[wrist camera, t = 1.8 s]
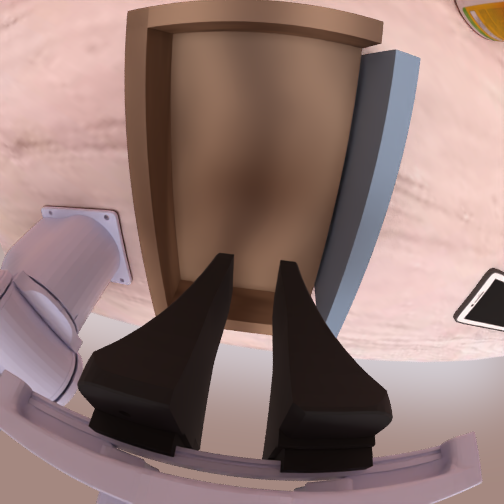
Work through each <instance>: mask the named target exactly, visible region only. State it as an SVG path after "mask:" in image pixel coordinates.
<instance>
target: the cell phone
mask: <svg viewBox="0 0 504 504" xmlns="http://www.w3.org/2000/svg"><path fill="white" fill-rule="evenodd" d="M453 317H454V319H455V321H456V322H458V323H462V324H467V323H468V324H467V325H472V324H473V325H472V326H477V327H482V328H488V329H493V330H498V331H504V272H502V271H500V270H498V269H495V268H491V269H489V270H488V271H487V272H486V273H485V275H484V276H483V277H482V279H481V280H480V281H479V283H478V284H477V285H476V287H475V288H474V289H473V291H472V292H471V293H470V295H469V296H468V297H467V298H466V300H465V301H464V302H463V303H462V305H461V306H460V307H459V308H458V310H457V311H456V312H455V314H454V316H453Z"/></svg>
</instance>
